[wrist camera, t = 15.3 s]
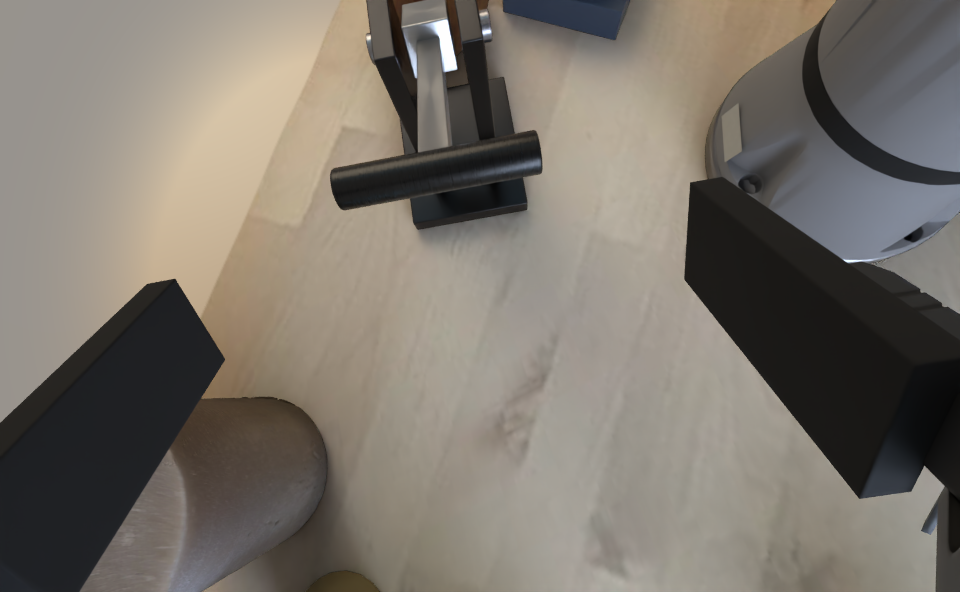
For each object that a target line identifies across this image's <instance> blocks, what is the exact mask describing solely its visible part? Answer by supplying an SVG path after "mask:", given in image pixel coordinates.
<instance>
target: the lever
mask: <svg viewBox="0 0 960 592" xmlns="http://www.w3.org/2000/svg"><path fill="white" fill-rule="evenodd" d="M401 31H402V34H403V38H404V42H405V46H406V49H407V53H408V57H409V61H410V64H411V68H412V72H413V76H414V78H417V115H418V152H417V153H412V154H406V155H401V156H396V157H391V158H385V159H380V160H375V161H370V162H365V163H359V164H354V165H349V166H344V167H338V168H334V169H332V170H331V174H330V182H331V188H332V192H333V195H334V198H335V201H336V203H337V204H338V206H339V207H340V209H342V210H349V209H355V208H360V207H366V206H371V205H376V204H382V203H387V202H393V201H398V200H403V199H409V198H414V197H420V196H425V195H430V194H436V193H441V192H447V191H452V190H457V189H463V188H468V187H474V186H479V185H484V184H490V183H495V182H501V181H506V180H511V179H517V178H522V177H528V176H533V175H538V174H541V173H542V155H541V148H540V142H539V138H538V134H537V132H536V131H535V130H532V131H527V132H522V133H516V134H511V135H506V136H501V137H495V138H490V139H485V140H480V141H474V142H469V143H464V144H459V145H454V146H452V137H451V126H450V116H449V105H448V95H447V84H446V74H445V72H449V71H454V70H457V69H458V66H457V58H456V51H455V44H454V38H453V33H452V28H451V23H450V17H449V12H448V7H447V1H446V0H424V1H419V2H414V3H409V4H405V5H402V16H401Z"/></svg>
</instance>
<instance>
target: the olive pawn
mask: <svg viewBox="0 0 960 592" xmlns="http://www.w3.org/2000/svg"><path fill="white" fill-rule="evenodd" d="M306 592H380V591H379V590H378V589H377V587H376V586H375V585H374V583H373V582H371V581H370V580H368V579H367V578H365V577H364V576H362V575H361V574H357V573H353V572H349V571H339V572H331V573H329V574H327V575H325V576H323V577H321V578H319V579H318V580H317V581H315V582H314V583H313V584H312V585H311V586H310V587H309V588H308V589H307V590H306Z"/></svg>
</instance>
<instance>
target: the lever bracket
mask: <svg viewBox="0 0 960 592" xmlns="http://www.w3.org/2000/svg"><path fill="white" fill-rule="evenodd" d="M366 2H367V10H368V18H369V27H370V33H367V34H366V43H367V48H368V52H369V55H370V58H371V60H372V62H373V64H374V65H376V67H377V69H378V71H379V74H380V76H381V78H382V80H383V82H384V85H385V87H386V89H387V91H388V93H389V95H390V98H391V100H392V102H393V104H394V106H395V109H396V111H397V113H398V115H399V117H400V124H401V132H402V139H403V147H404V155H406V154H412V153H417V152H418V115H417V78H414V76H413V72H412V68H411V64H410V61H409V57H408V53H407V49H406V46H405V42H404V38H403V34H402V31H401V23H400V21H399V18H398V15H397V12H396V9H395V6H394V3H393V0H366ZM454 2H455V8H456V14H457V20H458V26H459V32H460V38H461V43H462V49H463V54H464V60H465V65H466V71H467V76H468V81H469V84H465V85H460V86H455V87H450V88H447V95H448V105H449V116H450V126H451V137H452V146H454V145H459V144H464V143H469V142H474V141H480V140H485V139H490V138H495V137H501V136H506V135H511V134H515V133H514V128H513V122H512V117H511V112H510V106H509V101H508V96H507V90H506V85H505V80H504V77H500V78H495V79H490V80H489V79H488V71H487V62H486V54H485V46H484V43H486V42H491V41H492V30H491V23H490V17H489V11H488V9H482V10H478V4H477V0H454ZM410 201H411V209H412V217H413V223H414V225H415V226H416V228H417V229H418V230H419V229H424V228H430V227H435V226H441V225H447V224H452V223H458V222H463V221H469V220H474V219H480V218H485V217H491V216H496V215H502V214H507V213H513V212H518V211H524V210H527V197H526V192H525V186H524V181H523V177H522V178H517V179H511V180H506V181H501V182H495V183H490V184H484V185H479V186H474V187H468V188H463V189H457V190H452V191H447V192H441V193H436V194H430V195H425V196H420V197H414V198H410Z"/></svg>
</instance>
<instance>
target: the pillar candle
mask: <svg viewBox="0 0 960 592" xmlns="http://www.w3.org/2000/svg"><path fill="white" fill-rule="evenodd" d="M326 477H327V457H326V450H325V447H324V443H323V440H322V438H321V435H320V433H319V431H318V429H317V427H316V426H315V424H314V422H313V421H312V420H311V418H310V417H309V416H308V415H307V414H306V413H305V412H304V411H303V410H302V409H301V408H299V407H297V406H295V405H294V404H292V403H290V402H288V401H285V400H282V399H279V400H277V398H274V397H254V398H248V397H242V398H213V399H200V400H199V402H198V404H197V405H196V407H195V408H194V410H193V412H192V413H191V415H190V416H189V418H188V420H187V421H186V423H185V424H184V426H183V428H182V429H181V431H180V432H179V434H178V436H177V437H176V439H175V440H174V442H173V444H172V445H171V447H170V448H169V450H168V451H167V453H166V455H165V456H164V458H163V459H162V461H161V463H160V464H159V466H158V467H157V469H156V471H155V472H154V474H153V475H152V477H151V479H150V480H149V482H148V483H147V485H146V487H145V488H144V490H143V491H142V493H141V494H140V496H139V498H138V499H137V501H136V502H135V504H134V506H133V507H132V509H131V510H130V512H129V514H128V515H127V517H126V518H125V520H124V522H123V523H122V525H121V526H120V528H119V530H118V531H117V533H116V534H115V536H114V538H113V539H112V541H111V542H110V544H109V545H108V547H107V549H106V550H105V552H104V553H103V555H102V557H101V558H100V560H99V561H98V563H97V565H96V566H95V568H94V569H93V571H92V573H91V574H90V576H89V577H88V579H87V581H86V582H85V584H84V585H83V587H82V588H81V590H80V592H202V591H203V590H205V589H207V588H208V587H210V586H212V585H213V584H215V583H216V582H218V581H220V580H221V579H223V578H225V577H226V576H228V575H230V574H231V573H233V572H235V571H236V570H238V569H240V568H241V567H243V566H245V565H246V564H248V563H249V562H251V561H252V560H254V559H256V558H257V557H259V556H260V555H262V554H264V553H266V552H267V551H269V550H270V549H272V548H274V547H275V546H277V545H278V544H280V543H281V542H283V541H285V540H286V539H288V538H289V537H291V536H292V535H293V534H295V533H296V532H297V531H298V530H299V529H300V528H301V527H302V526H303V525H304V524H305V523H306V522H307V520H308V519H309V518H310V517H311V515H312V514H313V513H314V512H315V510H316V507H317V505H318V503H319V501H320V499H321V497H322V495H323V492H324V488H325V483H326Z"/></svg>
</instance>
